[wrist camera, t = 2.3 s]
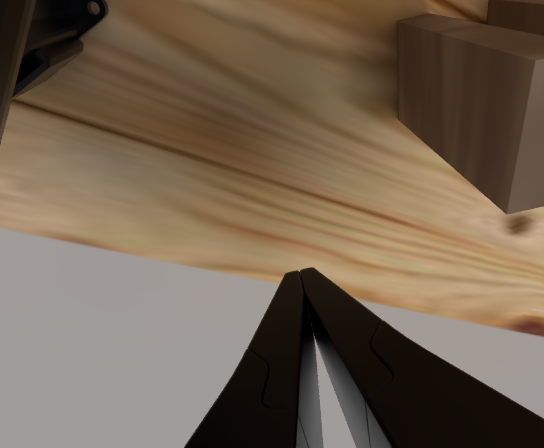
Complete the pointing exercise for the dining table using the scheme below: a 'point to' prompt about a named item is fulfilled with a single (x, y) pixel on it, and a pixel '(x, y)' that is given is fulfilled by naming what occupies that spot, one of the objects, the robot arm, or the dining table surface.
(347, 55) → the dining table surface
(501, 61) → the domino
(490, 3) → the domino
